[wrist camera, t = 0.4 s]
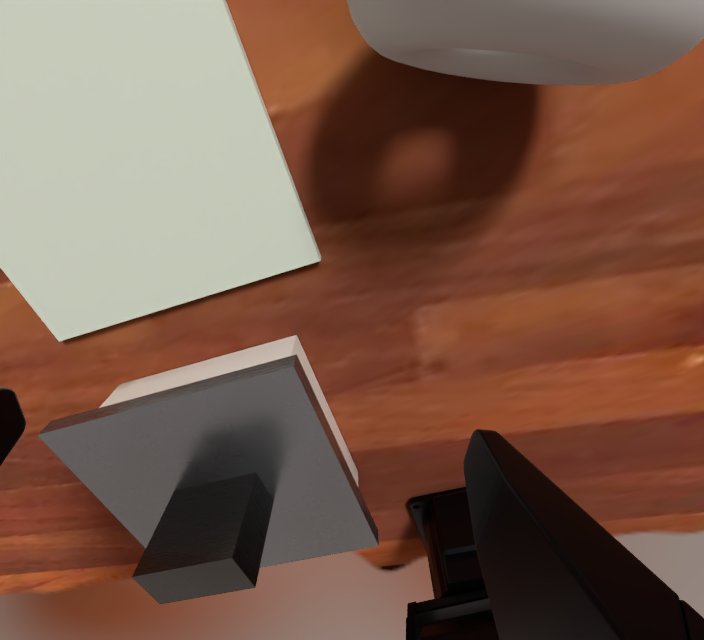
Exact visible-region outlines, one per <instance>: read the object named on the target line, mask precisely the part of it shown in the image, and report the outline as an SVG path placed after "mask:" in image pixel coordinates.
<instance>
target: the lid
mask: <svg viewBox="0 0 704 640" xmlns="http://www.w3.org/2000/svg"><path fill="white" fill-rule="evenodd" d="M38 436H39V437H40V438H41V439H42V440H43V441H44V442H45V444H46V445H47V446H48V447H49V448H50V449H51V450H52V451H53V452H54V453H55V454H56V455H57V456H58V457H59V458H60V459H61V460H62V461H63V462H64V463H65V465H66V466H67V467H68V468H69V469H70V470H71V471H72V472H73V473H74V474H75V475H76V476H77V477H78V478H79V479H80V480H81V481H82V482H83V483H84V484H85V486H86V487H87V488H88V489H89V490H90V491H91V492H92V493H93V494H94V495H95V496H96V497H97V498H98V499H99V500H100V501H101V502H102V503H103V504H104V506H105V507H106V508H107V509H108V510H109V511H110V512H111V513H112V514H113V515H114V516H115V517H116V518H117V519H118V520H119V521H120V522H121V523H122V524H123V525H124V527H125V528H126V529H127V530H128V531H129V532H130V533H131V534H132V535H133V536H134V537H135V538H136V539H137V540H138V541H139V542H140V543H141V544H142V545H143V546H144V548H145V551H144V554H143V556H142V558H141V560H140V562H139V564H138V566H137V568H136V570H135V572H134V574H133V576H132V578H133V579H134V580H135V581H137V582H138V583H139V584H140V585H141V586H142V587H143V588H144V589H145V590H146V591H147V592H148V593H149V594H150V595H151V596H152V597H153V598H155V600H156V601H157V602H158V603H159V604H163V603H170V602H175V601H181V600H187V599H192V598H198V597H204V596H210V595H215V594H221V593H227V592H233V591H238V590H244V589H250V588H255V586H256V582H257V577H258V572H259V568H260V567H266V566H271V565H276V564H282V563H288V562H293V561H299V560H304V559H309V558H315V557H321V556H326V555H331V554H337V553H342V552H348V551H353V550H359V549H364V548H370V547H375V546H379V542H378V529H377V527H376V525H375V523H374V521H373V519H372V516H371V514H370V512H369V510H368V508H367V506H366V503H365V501H364V499H363V497H362V495H361V493H360V490H359V488H358V486H357V484H356V482H355V480H354V477H353V475H352V473H351V471H350V469H349V467H348V464H347V462H346V460H345V458H344V456H343V454H342V451H341V449H340V447H339V445H338V443H337V441H336V438H335V436H334V434H333V432H332V430H331V428H330V425H329V423H328V421H327V419H326V417H325V415H324V413H323V410H322V408H321V406H320V404H319V402H318V400H317V397H316V395H315V393H314V391H313V389H312V387H311V384H310V382H309V380H308V378H307V376H306V374H305V371H304V369H303V367H302V365H301V363H300V361H299V358H298V356H297V354H296V355H293V356H289V357H285V358H281V359H278V360H274V361H270V362H267V363H263V364H259V365H256V366H252V367H248V368H245V369H241V370H237V371H234V372H230V373H226V374H223V375H219V376H215V377H212V378H208V379H204V380H201V381H197V382H193V383H189V384H186V385H182V386H178V387H175V388H171V389H167V390H164V391H160V392H156V393H153V394H149V395H145V396H142V397H138V398H134V399H131V400H127V401H123V402H120V403H116V404H112V405H108V406H105V407H101V408H97V409H94V410H90V411H86V412H83V413H79V414H75V415H72V416H68V417H64V418H61V419H57V420H53V421H51V422H50V423H49V424H48V425H47V426H46V427H45V428H44V429H43V430H42V431H41V432H40V433H39V434H38Z"/></svg>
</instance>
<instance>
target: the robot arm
mask: <svg viewBox="0 0 704 640" xmlns="http://www.w3.org/2000/svg"><path fill="white" fill-rule="evenodd" d="M25 425H26V421H25V417H24V415H23V412H22V409H21V407H20V404H19V401H18V399H17V396H16V394H15V392H14V391H13V390H12V389H9V388H5V387H0V465H1V464H2V463H3V461H4V460H5V458H6V457H7V455H8V454H9V452H10V451H11V450H12V448H13V447H14V445H15V444H16V442H17V441H18V439H19V438H20V437H21V435H22V434H23V432H24V429H25ZM464 475H465V482H466V488H462V489H457V490H452V491H447V492H442V493H437V494H432V495H427V496H422V497H417V498H413V499H411V500H410V501H409V505H410V510H411V512H412V515H413V518H414V520H415V523H416V525H417V528H418V531H419V533H420V536H421V539H422V541H423V544H424V546H425V549H426V551H427V556H428V562H429V568H430V574H431V580H432V586H433V592H434V598H435V599H433V600H428V601H424V602H419V603H416V602H412V603H408V609H407V611H408V613H407V618H406V640H704V618H703V617H702V616H701V615H700V614H698V613H697V612H696V611H695V610H694V609H693V608H692V607H691V606H690V605H689V604H687V603H686V602H685V601H683V600H679V597H678V595H677V594H676V593H675V592H674V591H673V590H672V589H671V588H669V587H668V586H667V585H666V584H665V583H664V582H663V581H662V580H660V579H659V578H658V577H657V576H656V575H655V574H654V573H653V572H652V571H651V570H649V569H648V568H647V567H646V566H645V565H644V564H643V563H642V562H641V561H640V560H638V559H637V558H636V557H635V556H634V555H633V554H632V553H631V552H630V551H628V550H627V549H626V548H625V547H624V546H623V545H622V544H621V543H620V542H618V541H617V540H616V539H615V538H614V537H613V536H612V535H611V534H610V533H609V532H607V531H606V530H605V529H604V528H603V527H602V526H601V525H600V524H599V523H597V522H596V521H595V520H594V519H593V518H592V517H591V516H590V515H589V514H587V513H586V512H585V511H584V510H583V509H582V508H581V507H580V506H579V505H578V504H576V503H575V502H574V501H573V500H572V499H571V498H570V497H569V496H568V495H566V494H565V493H564V492H563V491H562V490H561V489H560V488H559V487H558V486H556V485H555V484H554V483H553V482H552V481H551V480H550V479H549V478H548V477H546V476H545V475H544V474H543V473H542V472H541V471H540V470H539V469H538V468H536V467H535V466H534V465H533V464H532V463H531V462H530V461H529V460H528V459H527V458H525V457H524V456H523V455H522V454H521V453H520V452H519V451H518V450H517V449H515V448H514V447H513V446H512V445H511V444H510V443H509V442H508V441H507V440H505V439H504V438H503V437H502V436H501V435H500V434H499V433H497V432H496V431H492V430H480V429H477V430H475V431H474V432H473V434H472V436H471V439H470V442H469V446H468V449H467V452H466V455H465V458H464Z"/></svg>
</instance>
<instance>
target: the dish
mask: <svg viewBox="0 0 704 640" xmlns="http://www.w3.org/2000/svg"><path fill="white" fill-rule="evenodd" d="M296 354H297V356H298V358H299V361H300V363H301V365H302V367H303V369H304V371H305V374H306V376H307V378H308V380H309V382H310V384H311V387H312V389H313V391H314V393H315V395H316V397H317V400H318V402H319V404H320V406H321V408H322V410H323V413H324V415H325V417H326V419H327V421H328V423H329V425H330V428H331V430H332V432H333V434H334V436H335V438H336V441H337V443H338V445H339V447H340V449H341V451H342V454H343V456H344V458H345V460H346V462H347V464H348V467H349V469H350V471H351V473H352V475H353V477H354V480H355V482H356V484H357V486H358V471H357V468H356V466H355V464H354V462H353V459H352V457H351V455H350V453H349V451H348V448H347V446H346V444H345V442H344V439H343V437H342V435H341V433H340V431H339V428H338V426H337V424H336V422H335V419H334V417H333V415H332V413H331V410H330V408H329V406H328V404H327V402H326V399H325V397H324V395H323V393H322V390H321V388H320V386H319V384H318V382H317V379H316V377H315V375H314V373H313V370H312V368H311V366H310V364H309V362H308V359H307V357H306V355H305V353H304V350H303V348H302V346H301V344H300V341H299V339H298V337H297V335H294V336H291V337H287V338H284V339H280V340H277V341H273V342H269V343H266V344H262V345H259V346H255V347H252V348H248V349H245V350H241V351H237V352H234V353H230V354H227V355H223V356H220V357H216V358H212V359H209V360H205V361H202V362H198V363H195V364H191V365H187V366H184V367H180V368H177V369H173V370H170V371H166V372H162V373H159V374H155V375H152V376H148V377H145V378H141V379H137V380H134V381H130V382H127V383H123V384H120V385H119V386H118V387H117V388H116V389H115V391H114V392H113V393H112V394H111V395H110V396H109V397H108V398H107V399H106V401H105V402H104V403H103V404H102V405H101V406H100V407H99V408H101V407H105V406H108V405H112V404H116V403H120V402H123V401H127V400H131V399H134V398H138V397H142V396H145V395H149V394H153V393H156V392H160V391H164V390H167V389H171V388H175V387H178V386H182V385H186V384H189V383H193V382H197V381H201V380H204V379H208V378H212V377H215V376H219V375H223V374H226V373H230V372H234V371H237V370H241V369H245V368H248V367H252V366H256V365H259V364H263V363H267V362H270V361H274V360H278V359H281V358H285V357H289V356H293V355H296Z"/></svg>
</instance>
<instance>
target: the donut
mask: <svg viewBox="0 0 704 640" xmlns="http://www.w3.org/2000/svg"><path fill="white" fill-rule="evenodd" d="M346 1H347V4H348V7H349V11H350V14H351V18H352V21H353V22H354V24H355V26H356V27H357V29H358V30H359V32H360V34H361V35H362V37H363V38H364V40H365V41H366V42H367V44H368V45H369V46H370V47H372V48H373V49H374V50H375V51H376V52H378V53H379V54H380V55H382V56H384V57H386V58H389V59H391V60H393V61H396V62H399V63H403V64H406V65H410V66H413V67H417V68H420V69H424V70H429V71H434V72H439V73H443V74H449V75H455V76H462V77H468V78H475V79H484V80H492V81H501V82H512V83H523V84H540V85H599V84H617V83H623V82H628V81H634V80H638V79H641V78H643V77H646V76H649V75H652V74H654V73H657V72H659V71H661V70H662V69H664V68H665V67H667V66H668V65H670V64H672V63H673V62H675V61H676V60H678V59H679V58H681V57H682V56H683V55H685V54H686V53H687V52H689V51H690V50H691V49H693V48H694V47H695V46H696V45H697V44H698V43H699V42H700V41H701V40H702V39H703V38H704V0H346Z"/></svg>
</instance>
